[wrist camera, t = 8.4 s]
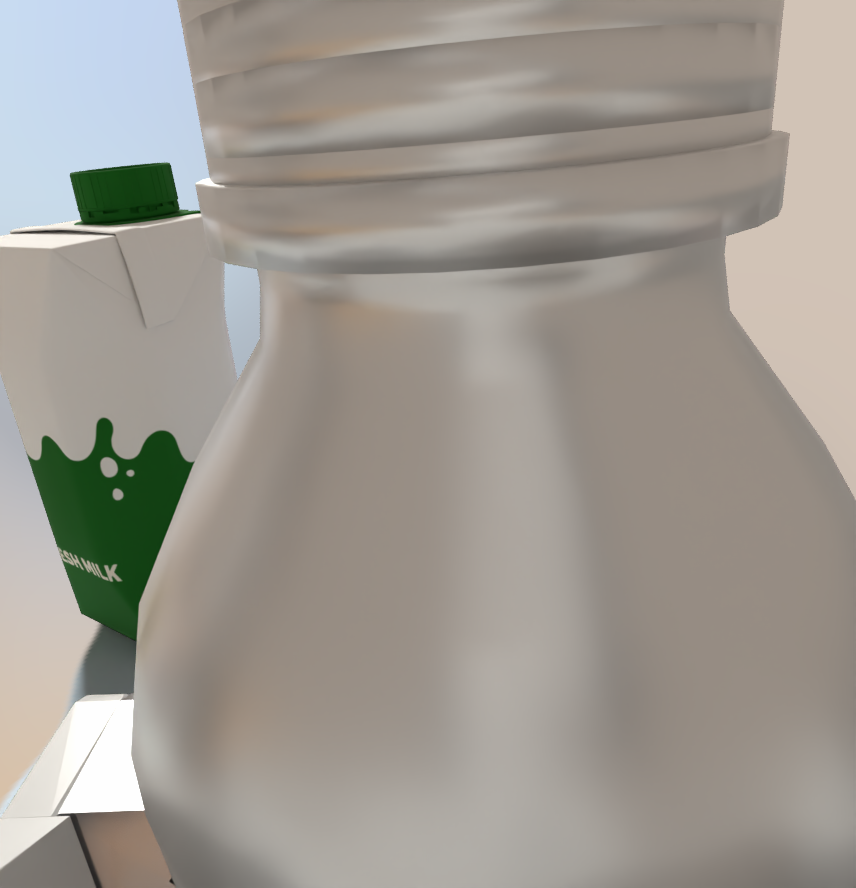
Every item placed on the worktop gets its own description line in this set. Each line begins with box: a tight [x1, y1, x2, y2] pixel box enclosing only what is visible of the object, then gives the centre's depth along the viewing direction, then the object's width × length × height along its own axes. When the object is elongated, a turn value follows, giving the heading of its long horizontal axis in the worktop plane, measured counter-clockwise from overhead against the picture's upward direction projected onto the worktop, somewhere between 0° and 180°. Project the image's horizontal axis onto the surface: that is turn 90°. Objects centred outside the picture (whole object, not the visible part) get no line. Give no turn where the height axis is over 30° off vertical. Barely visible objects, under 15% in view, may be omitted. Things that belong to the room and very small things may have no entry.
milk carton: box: [0, 163, 238, 641], centre depth 34 cm, size 9×9×20 cm
